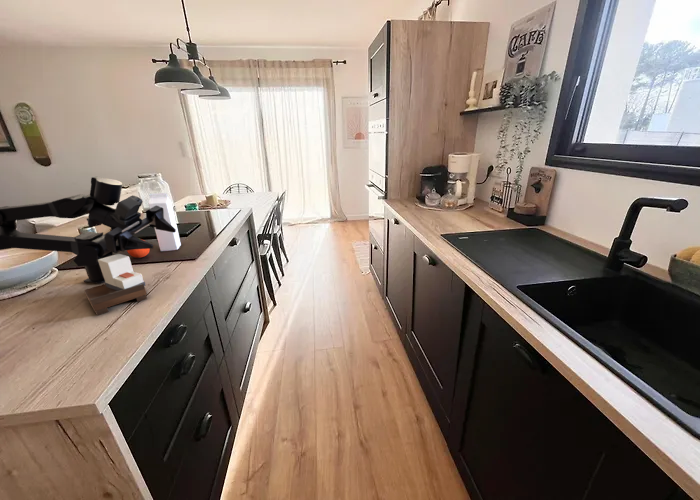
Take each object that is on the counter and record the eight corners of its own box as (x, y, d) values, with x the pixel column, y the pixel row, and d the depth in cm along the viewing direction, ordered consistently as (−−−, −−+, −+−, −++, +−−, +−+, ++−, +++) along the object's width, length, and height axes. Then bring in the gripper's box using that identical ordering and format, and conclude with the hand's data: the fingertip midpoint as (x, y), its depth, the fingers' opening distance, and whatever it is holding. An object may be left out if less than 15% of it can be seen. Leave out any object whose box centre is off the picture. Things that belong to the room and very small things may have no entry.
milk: (177, 250, 113) (164, 194, 106) (160, 251, 112) (145, 195, 104) (181, 245, 119) (169, 191, 111) (164, 246, 117) (151, 192, 109)
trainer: (105, 286, 78) (96, 259, 76) (126, 278, 83) (118, 253, 80) (125, 293, 74) (115, 265, 72) (145, 285, 79) (138, 258, 76)
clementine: (133, 254, 109) (127, 236, 107) (154, 251, 112) (149, 234, 109) (127, 261, 102) (121, 243, 100) (150, 258, 105) (145, 240, 102)
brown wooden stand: (87, 299, 78) (81, 284, 76) (135, 285, 85) (131, 271, 84) (96, 315, 70) (90, 299, 69) (148, 298, 78) (143, 283, 76)
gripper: (77, 208, 71) (136, 232, 72) (136, 182, 87) (185, 202, 87) (85, 242, 78) (140, 264, 78) (139, 212, 93) (185, 231, 94)
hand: (164, 238), depth 84 cm, fingers open, 9 cm apart
